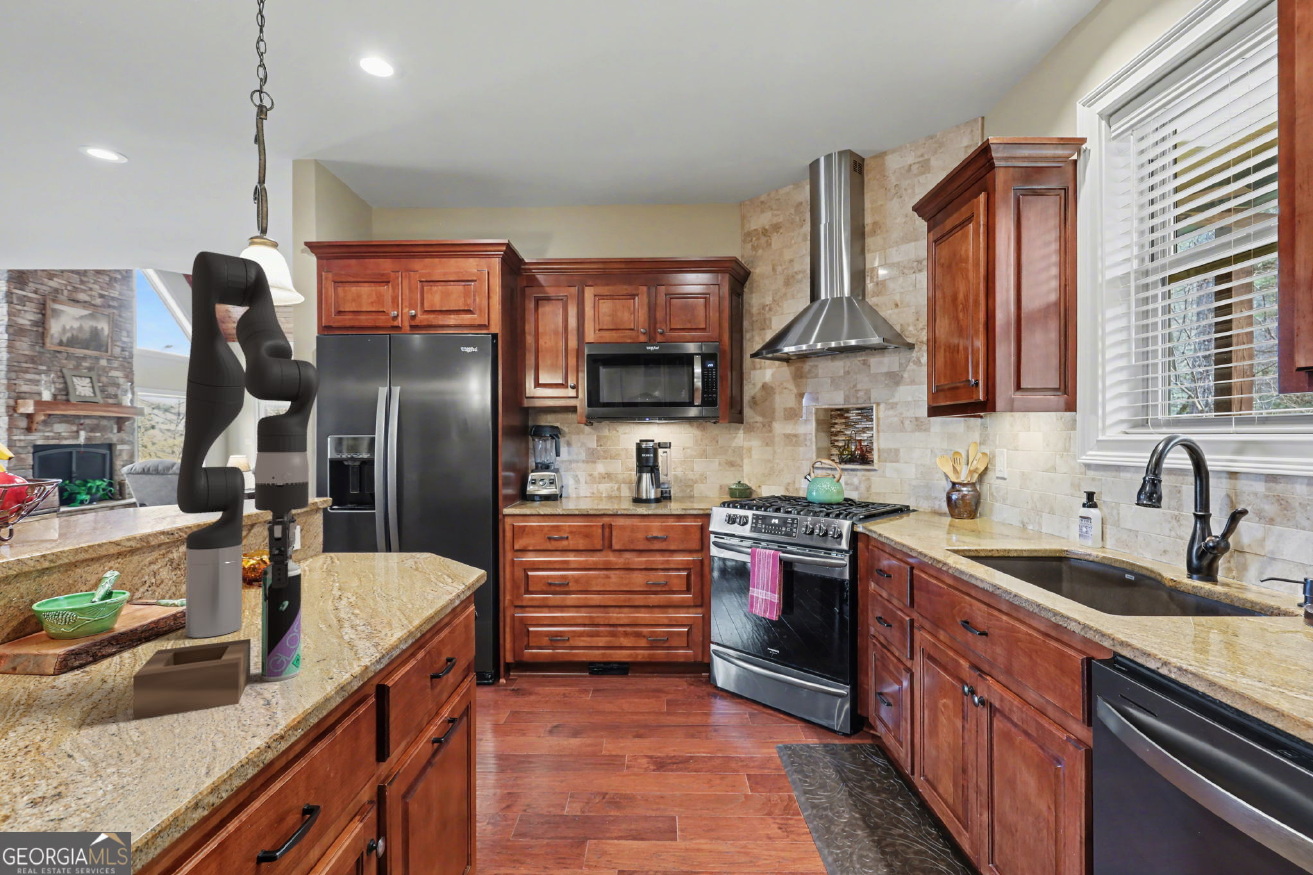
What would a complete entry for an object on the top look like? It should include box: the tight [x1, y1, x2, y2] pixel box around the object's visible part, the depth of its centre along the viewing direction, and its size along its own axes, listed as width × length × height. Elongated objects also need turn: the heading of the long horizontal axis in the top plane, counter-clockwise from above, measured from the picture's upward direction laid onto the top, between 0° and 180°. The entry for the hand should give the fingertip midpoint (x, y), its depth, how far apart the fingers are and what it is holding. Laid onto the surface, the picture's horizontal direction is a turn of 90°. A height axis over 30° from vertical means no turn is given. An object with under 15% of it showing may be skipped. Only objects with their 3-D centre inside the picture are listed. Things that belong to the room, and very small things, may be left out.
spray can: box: [260, 553, 302, 682], centre depth 100 cm, size 6×6×20 cm
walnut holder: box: [132, 638, 251, 721], centre depth 92 cm, size 12×12×6 cm
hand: (281, 583), depth 100 cm, fingers closed on spray can, 5 cm apart
